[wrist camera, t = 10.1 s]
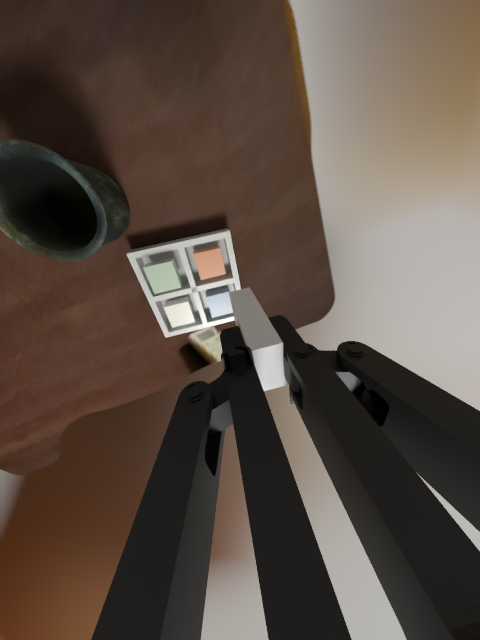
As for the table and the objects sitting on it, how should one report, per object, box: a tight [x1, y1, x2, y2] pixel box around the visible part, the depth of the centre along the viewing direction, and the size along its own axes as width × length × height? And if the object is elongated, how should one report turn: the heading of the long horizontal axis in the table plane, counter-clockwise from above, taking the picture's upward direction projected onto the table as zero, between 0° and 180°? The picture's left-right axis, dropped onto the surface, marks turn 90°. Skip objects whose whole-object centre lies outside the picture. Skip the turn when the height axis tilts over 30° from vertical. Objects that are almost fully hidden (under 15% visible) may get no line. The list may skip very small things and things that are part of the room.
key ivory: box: [163, 296, 195, 328], centre depth 40 cm, size 5×5×3 cm
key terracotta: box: [193, 245, 226, 280], centre depth 36 cm, size 5×5×3 cm
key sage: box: [143, 257, 182, 294], centre depth 34 cm, size 5×5×3 cm
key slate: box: [206, 287, 233, 318], centre depth 40 cm, size 5×5×3 cm
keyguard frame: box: [127, 228, 241, 337], centre depth 39 cm, size 17×17×3 cm
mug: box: [0, 139, 130, 261], centre depth 25 cm, size 11×15×12 cm
